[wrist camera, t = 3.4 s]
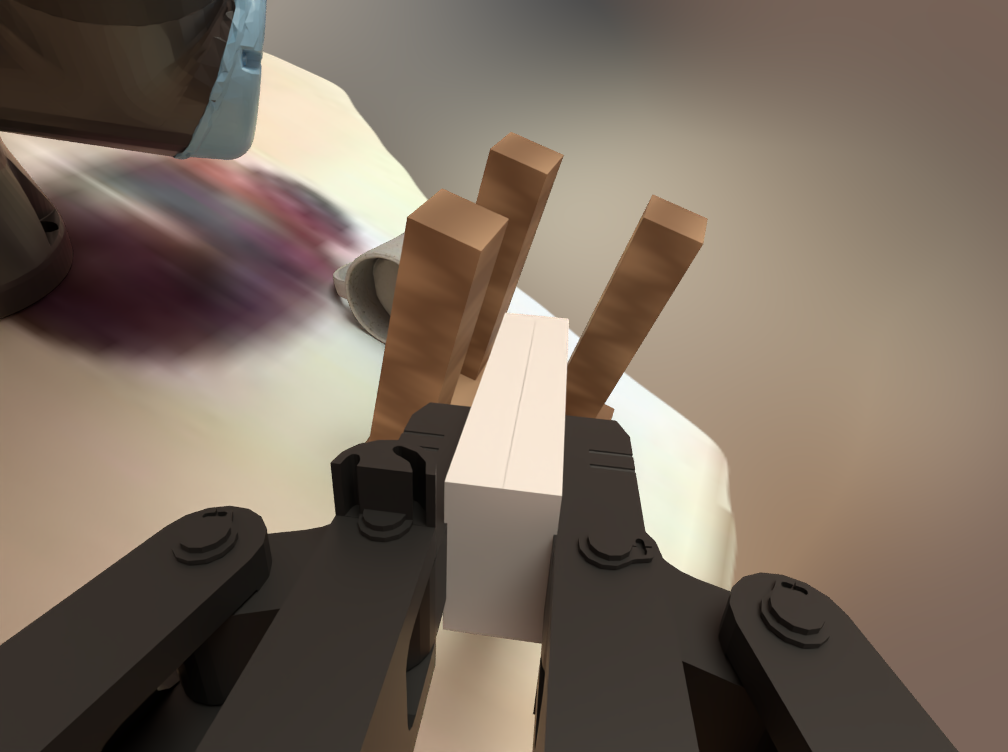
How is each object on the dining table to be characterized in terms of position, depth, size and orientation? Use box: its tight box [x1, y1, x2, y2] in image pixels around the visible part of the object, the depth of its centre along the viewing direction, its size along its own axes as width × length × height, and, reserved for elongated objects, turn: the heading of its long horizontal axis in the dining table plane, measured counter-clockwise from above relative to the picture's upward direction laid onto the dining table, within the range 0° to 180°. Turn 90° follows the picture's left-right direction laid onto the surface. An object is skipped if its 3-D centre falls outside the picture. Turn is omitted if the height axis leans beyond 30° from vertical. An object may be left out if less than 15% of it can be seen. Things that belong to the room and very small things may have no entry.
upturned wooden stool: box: [365, 132, 707, 443], centre depth 31 cm, size 14×13×18 cm
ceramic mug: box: [333, 233, 405, 343], centre depth 43 cm, size 11×8×8 cm
